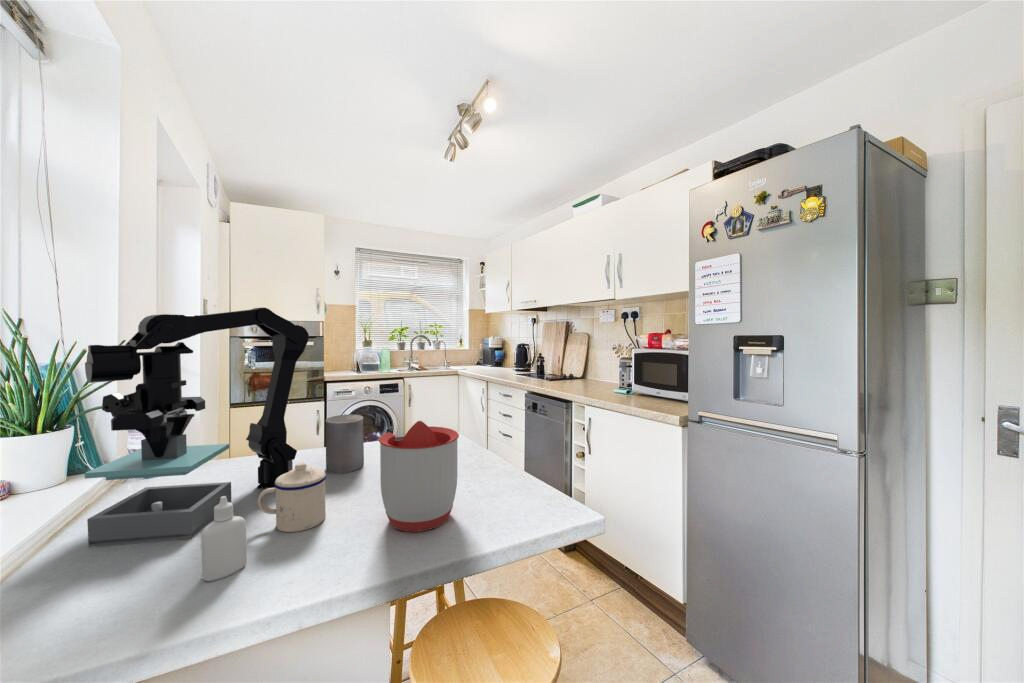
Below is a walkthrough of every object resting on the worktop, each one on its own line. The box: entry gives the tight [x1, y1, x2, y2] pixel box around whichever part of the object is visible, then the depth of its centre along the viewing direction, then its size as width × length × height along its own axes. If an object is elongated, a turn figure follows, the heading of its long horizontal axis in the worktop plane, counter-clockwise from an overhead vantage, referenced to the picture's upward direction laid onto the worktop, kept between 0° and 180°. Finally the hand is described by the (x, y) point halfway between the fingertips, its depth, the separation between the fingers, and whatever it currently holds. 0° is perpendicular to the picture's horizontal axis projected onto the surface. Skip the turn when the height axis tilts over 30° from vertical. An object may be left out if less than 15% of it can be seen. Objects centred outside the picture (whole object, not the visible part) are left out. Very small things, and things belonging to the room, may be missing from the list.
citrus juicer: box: [378, 420, 460, 533], centre depth 80 cm, size 16×17×20 cm
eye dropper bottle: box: [200, 496, 248, 582], centre depth 62 cm, size 4×6×12 cm
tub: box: [87, 481, 232, 548], centre depth 77 cm, size 16×14×5 cm
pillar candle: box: [325, 413, 365, 474], centre depth 108 cm, size 10×10×15 cm
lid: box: [84, 433, 230, 481], centre depth 79 cm, size 17×15×6 cm
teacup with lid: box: [257, 462, 327, 533], centre depth 78 cm, size 12×9×12 cm
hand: (164, 454), depth 79 cm, fingers closed on lid, 3 cm apart
